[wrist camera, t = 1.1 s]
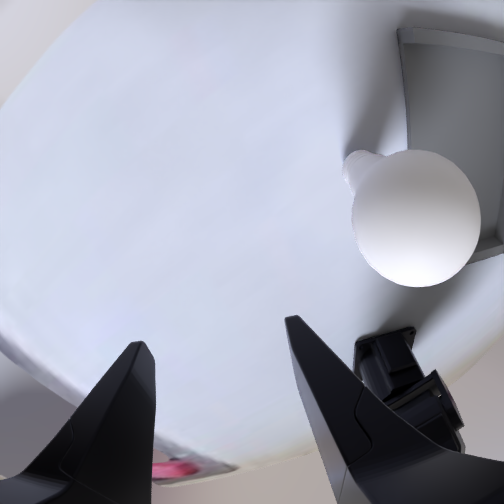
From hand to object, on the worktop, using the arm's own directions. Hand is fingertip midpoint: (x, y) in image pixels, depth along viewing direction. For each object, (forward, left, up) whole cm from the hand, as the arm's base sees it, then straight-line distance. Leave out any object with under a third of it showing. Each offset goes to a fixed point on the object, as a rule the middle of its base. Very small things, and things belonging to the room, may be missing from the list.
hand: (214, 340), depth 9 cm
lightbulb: (0, -9, -13) cm, 16 cm away
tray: (0, -18, -12) cm, 22 cm away
